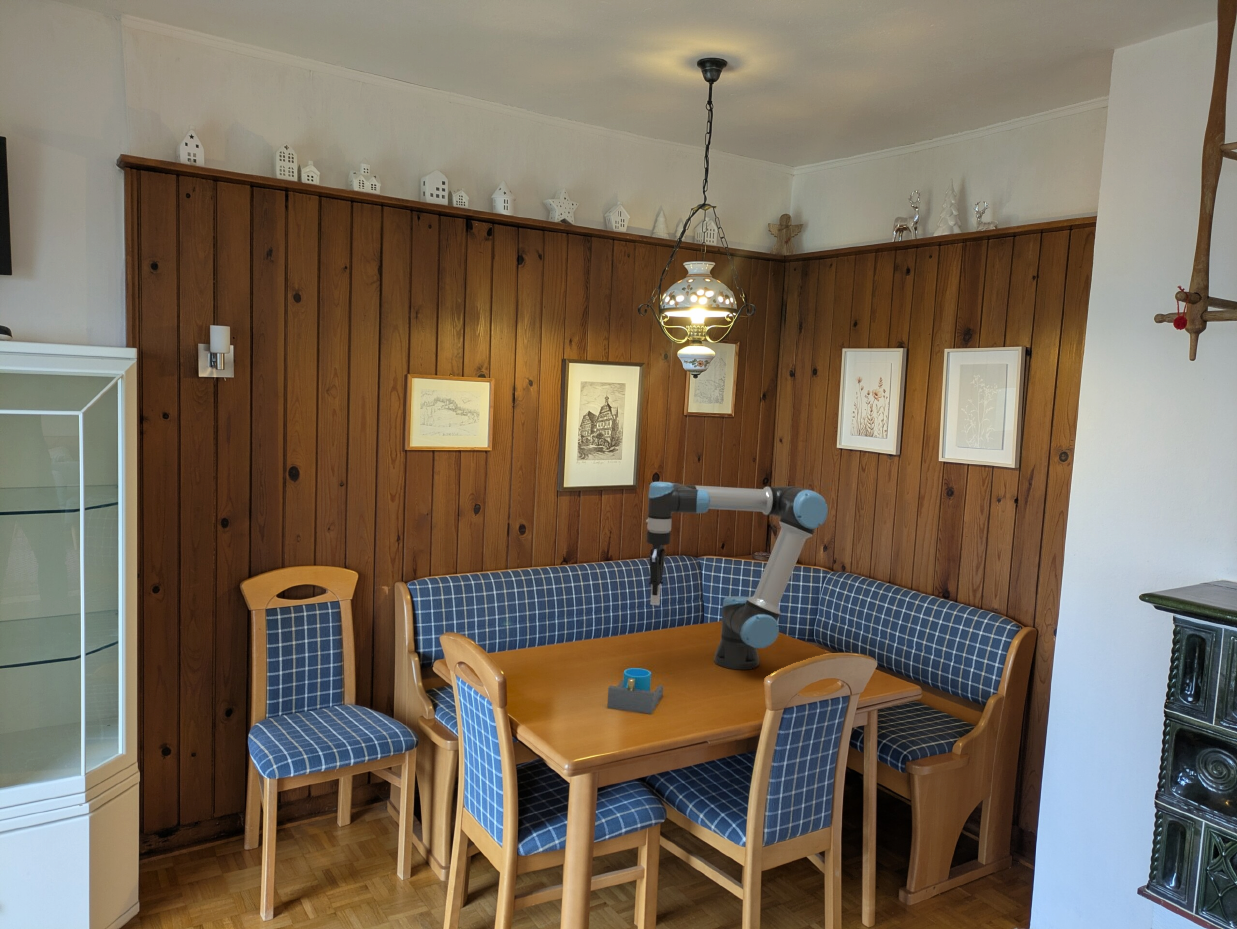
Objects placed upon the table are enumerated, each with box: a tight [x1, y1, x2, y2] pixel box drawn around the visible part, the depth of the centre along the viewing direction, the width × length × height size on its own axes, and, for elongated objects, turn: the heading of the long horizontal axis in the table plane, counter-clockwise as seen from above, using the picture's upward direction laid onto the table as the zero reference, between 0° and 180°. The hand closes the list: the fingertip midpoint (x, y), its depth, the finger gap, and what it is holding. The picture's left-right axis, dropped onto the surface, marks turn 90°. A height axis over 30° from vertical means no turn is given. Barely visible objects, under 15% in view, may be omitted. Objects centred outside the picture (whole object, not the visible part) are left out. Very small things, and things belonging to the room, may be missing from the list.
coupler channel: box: [607, 678, 664, 715], centre depth 259 cm, size 13×16×9 cm
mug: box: [622, 667, 652, 691], centre depth 260 cm, size 12×8×8 cm
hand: (655, 604), depth 278 cm, fingers closed
